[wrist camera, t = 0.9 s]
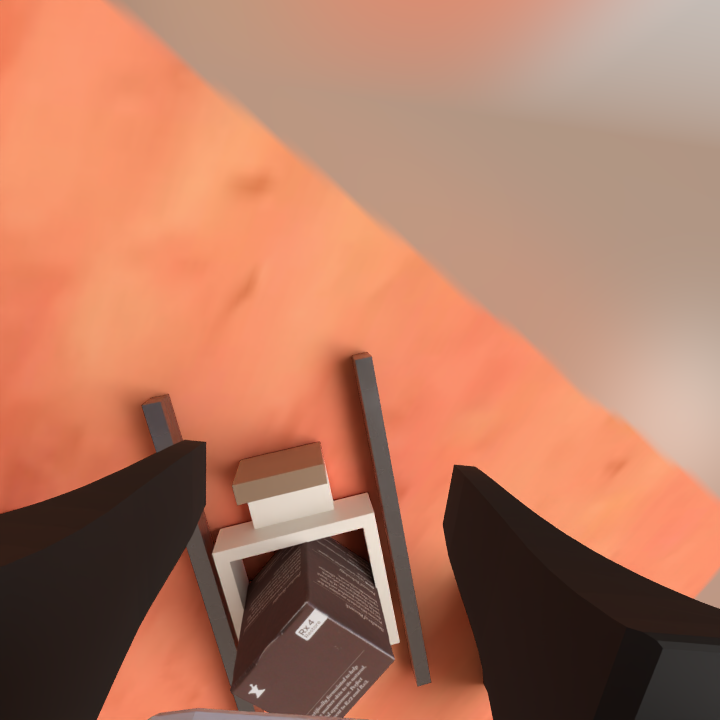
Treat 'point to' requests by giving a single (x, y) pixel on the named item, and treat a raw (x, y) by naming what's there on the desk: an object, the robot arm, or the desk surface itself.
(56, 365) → the desk surface
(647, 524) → the desk surface
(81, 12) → the desk surface
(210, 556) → the track
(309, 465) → the frame
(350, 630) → the box
